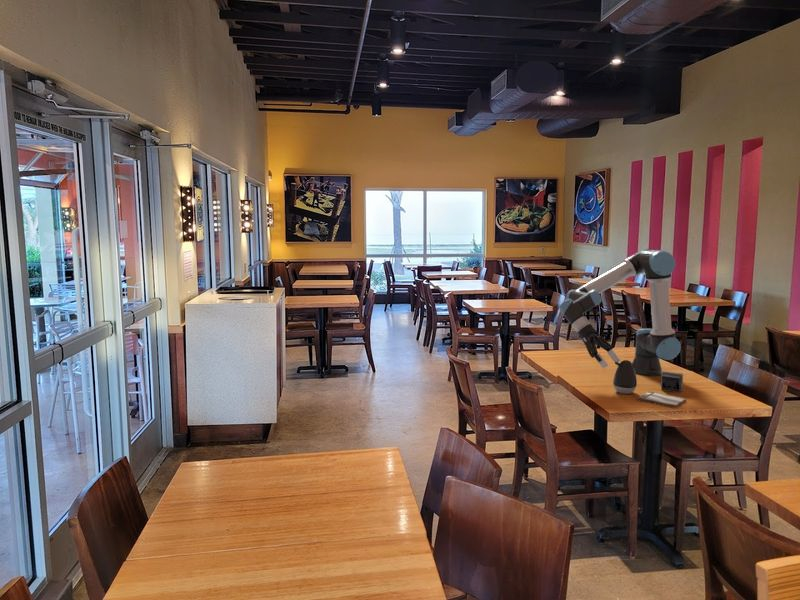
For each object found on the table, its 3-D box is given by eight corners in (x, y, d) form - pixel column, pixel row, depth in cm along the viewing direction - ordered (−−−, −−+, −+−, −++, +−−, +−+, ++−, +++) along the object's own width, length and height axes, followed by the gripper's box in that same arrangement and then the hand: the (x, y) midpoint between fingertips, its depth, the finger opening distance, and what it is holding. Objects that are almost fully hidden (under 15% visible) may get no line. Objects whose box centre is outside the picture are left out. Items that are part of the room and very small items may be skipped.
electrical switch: (682, 391, 280) (683, 372, 278) (680, 395, 276) (682, 375, 274) (661, 388, 285) (662, 369, 283) (659, 391, 281) (659, 372, 279)
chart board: (648, 393, 275) (648, 390, 275) (685, 401, 265) (685, 398, 265) (637, 400, 265) (637, 397, 265) (675, 408, 255) (675, 405, 254)
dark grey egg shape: (608, 389, 282) (610, 357, 280) (629, 389, 283) (631, 357, 281) (618, 395, 271) (620, 362, 270) (640, 395, 272) (642, 362, 270)
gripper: (589, 329, 298) (617, 364, 290) (565, 336, 280) (594, 373, 272) (600, 320, 294) (629, 355, 286) (577, 326, 275) (606, 364, 267)
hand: (612, 364), depth 279 cm, fingers open, 13 cm apart
